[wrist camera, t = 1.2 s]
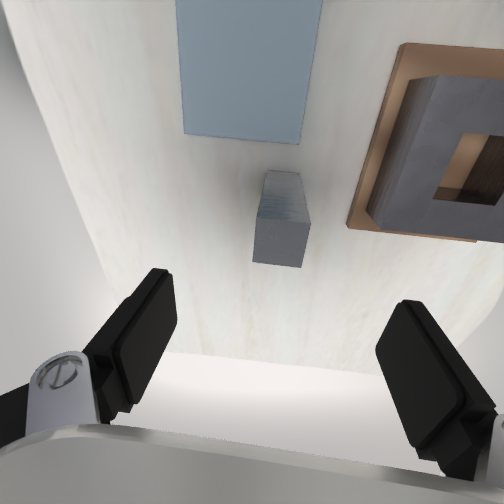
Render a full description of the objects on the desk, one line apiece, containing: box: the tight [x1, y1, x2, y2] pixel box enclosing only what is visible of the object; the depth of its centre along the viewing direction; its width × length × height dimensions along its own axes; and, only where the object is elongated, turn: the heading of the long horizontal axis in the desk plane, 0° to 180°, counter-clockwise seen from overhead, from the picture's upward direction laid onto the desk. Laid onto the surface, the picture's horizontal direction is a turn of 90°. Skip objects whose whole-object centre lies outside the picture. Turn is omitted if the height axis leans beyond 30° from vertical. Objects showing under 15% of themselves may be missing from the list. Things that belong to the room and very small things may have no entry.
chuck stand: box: [346, 43, 504, 243], centre depth 20 cm, size 14×12×1 cm
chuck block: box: [365, 75, 504, 243], centre depth 18 cm, size 10×10×4 cm
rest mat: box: [175, 0, 322, 145], centre depth 19 cm, size 10×10×1 cm
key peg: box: [253, 170, 311, 268], centre depth 19 cm, size 3×3×11 cm
